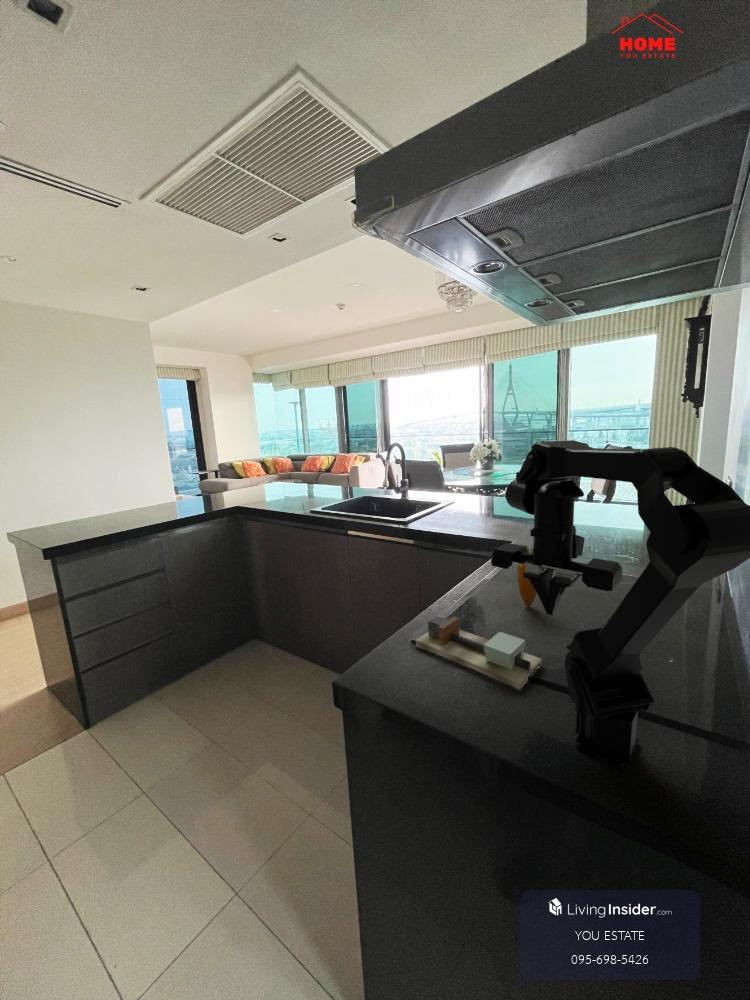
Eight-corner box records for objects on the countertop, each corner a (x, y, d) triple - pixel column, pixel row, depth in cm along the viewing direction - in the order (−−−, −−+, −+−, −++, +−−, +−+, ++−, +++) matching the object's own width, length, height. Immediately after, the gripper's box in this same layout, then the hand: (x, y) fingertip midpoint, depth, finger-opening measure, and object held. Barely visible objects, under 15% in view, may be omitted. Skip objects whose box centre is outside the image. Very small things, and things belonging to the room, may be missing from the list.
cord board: (541, 666, 76) (542, 640, 75) (520, 690, 69) (520, 663, 68) (441, 629, 91) (440, 607, 90) (416, 646, 84) (415, 623, 83)
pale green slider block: (525, 656, 76) (525, 640, 75) (510, 671, 72) (510, 654, 71) (499, 646, 79) (499, 631, 79) (483, 660, 75) (483, 644, 74)
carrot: (540, 612, 96) (541, 550, 93) (517, 610, 97) (518, 549, 94) (537, 603, 101) (539, 543, 98) (516, 601, 102) (517, 543, 99)
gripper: (634, 518, 64) (628, 611, 67) (518, 506, 77) (517, 585, 80) (614, 535, 56) (608, 640, 59) (489, 518, 69) (489, 605, 72)
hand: (550, 613), depth 68 cm, fingers closed
